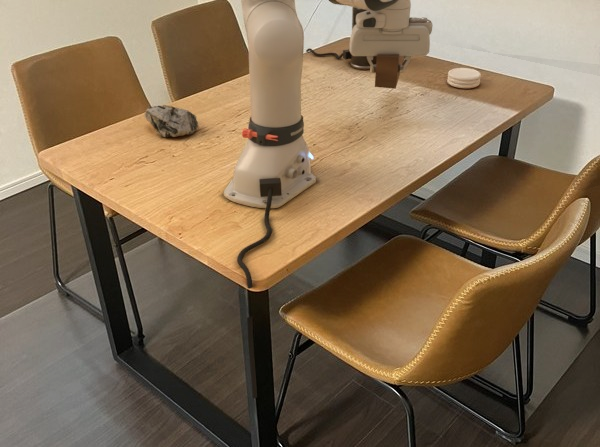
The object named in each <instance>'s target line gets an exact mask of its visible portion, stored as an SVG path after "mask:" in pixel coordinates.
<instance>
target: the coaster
mask: <svg viewBox="0 0 600 447" xmlns="http://www.w3.org/2000/svg"><path fill="white" fill-rule="evenodd" d="M481 77H482V74H481V72H480V71H479V70H476V69H473V68H469V67H456V68H452V69H450V70H449V71H448V72H447V80H446V82H447V84H448V85H449V86H451V87H454V88H458V89H473V88H474V89H475V88H478V86H480V84H481Z"/></svg>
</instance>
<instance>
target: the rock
mask: <svg viewBox="0 0 600 447" xmlns="http://www.w3.org/2000/svg"><path fill="white" fill-rule="evenodd" d="M144 118H145V119H146V121H147V122H149V124H150V125H151V126H153V129H154V131H156V132H157V134H159V135H160V137H163V138H171V137H173V138H177V137H180V136H185V135H191V134H194V133H195V131H197V130H198V129H199V121H198V120H197V116H196V114H194V113H193V112H191V111H189V110H187V109H184V108H180V107H174V106H172V105H166V104H163V105H154V106H149V107H147V108H146V109H145V113H144Z"/></svg>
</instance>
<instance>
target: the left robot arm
mask: <svg viewBox="0 0 600 447" xmlns="http://www.w3.org/2000/svg"><path fill="white" fill-rule="evenodd" d="M328 1H329V2H330V3H331V4H333V5H339V6H347V7H351V8H353V7H355V8H359V9H364V10H367V11H364V12H361V13H358V14H357V15H356V25H355V26H354V27H353V29H352V28H351V34H350V39H349V47H348V50H350V53H351V54H352V55H353V56H367V60H368V62H369V64H370V69H369V71H370V73H371V74H376V64H373V63H372V61H371V60H373V56H377V55H388V54H399V56H404V61H403V63H402V64H399V73H400V74H405V73H406V67H407V66H408V64H410V62H411V59H412V57H426V56H427V55H428V54H429V53H430V50H431V49H430V46H431V39H430V35H431V34H432V33H433V21H431V20H430V19H429V18H428V17H411V8H412V3H411V0H328ZM240 3H241V11H242V16H243V17H242V18H243V24H244V29H245V33H246V39H247V48H248V49H247V51H248V74H249V75H248V76H249V77H248V78H249V80H248V81H249V82H248V86H249V87H248V88H249V101H250V102H249V103H250V117H249V123H248V126H247V128H245V127H244V128H243V129H242V131H241V137H242V138H244V139H247V140H246V142H245V144H244V146H243V148H242V151H241V153H240V154H239V157H238V159H237V161H236V163H235V166H234V167H233V168H234V169H233V177H232V178H231V180H230V181H229V183H228V184H227V186H226V187H225V188H224V190H223V196H224V198H225V199H228V200H229V201H231V202H233V203H237V204H239V205H244V206H248V207H252V208H258V209H264V210H265V212H264V217H263V218H264V220H263V221H264V225H265V228H266V233H265V235H264V236H263V237H262V238H260V239H259V240H257V241H255V242H253V243H251V244H249V245H247V246H246V247H244V248H243V249H242V250H240V252H239V253H238V254H237V259H236V262H237V264H238V266H239V268H241V270H242V271H243V272H244V275H245V278H246V286H247V288H248V289H252V288H254V287H253V278H252V275H251V272H250V269H249V268H248V266H247V265H246V263H245V262H244V261H243V259H244V257H245V255H246V254H247V253H248V252H250V251H251V250H253V249H255V248H257V247H259V246H262V245H263V244H265V243H266V242H267V241H268V240H269V239H270V238H271V236H272V232H273V231H272V227H271V224H270V212H271V209H278V208H280V207H283V205H285V204H286V203H288V202H289V201H292V199H294V198H295V197H296V196H298V195H299V194H301V193H303V192H304V191H305V190H307V189H308V188H309V187H311V186H313V185H314V184H316V182H317V176H316V175H315V174H314V173H312V167H311V160H314V155H312V153H311V151H310V147H309V145H308V144H307V142H306V140H305V138H304V133H305V132H304V131H305V130H304V127H305V121H304V116H303V115H302V77H303V76H302V75H303V66H304V65H303V63H304V48H305V32H304V28H303V25H302V23H301V21H300V19H299V17H298V14H297V10H296V9H297V8H296V0H240ZM246 323H247V324H246V325H247V327H246V328H247V340H248V341H247V345H248V358H249V369H250V372H249V373H250V383H251V396H252V399H258V388H257V387H258V386H257V376H256V373H257V372H256V362H255V348H254V346H255V345H254V331H253V329H254V328H253V326H254V325H253V316H248V317H246Z"/></svg>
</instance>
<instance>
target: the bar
mask: <svg viewBox="0 0 600 447" xmlns="http://www.w3.org/2000/svg"><path fill="white" fill-rule="evenodd" d="M404 60H405V58H404V56H399V54H388V55H377V60H376V73H375V78H374V88H383V89H393V90H394V89H397V86H398V82H399V79H400V75H401V73H399V64H402V63H403V62H404Z"/></svg>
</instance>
